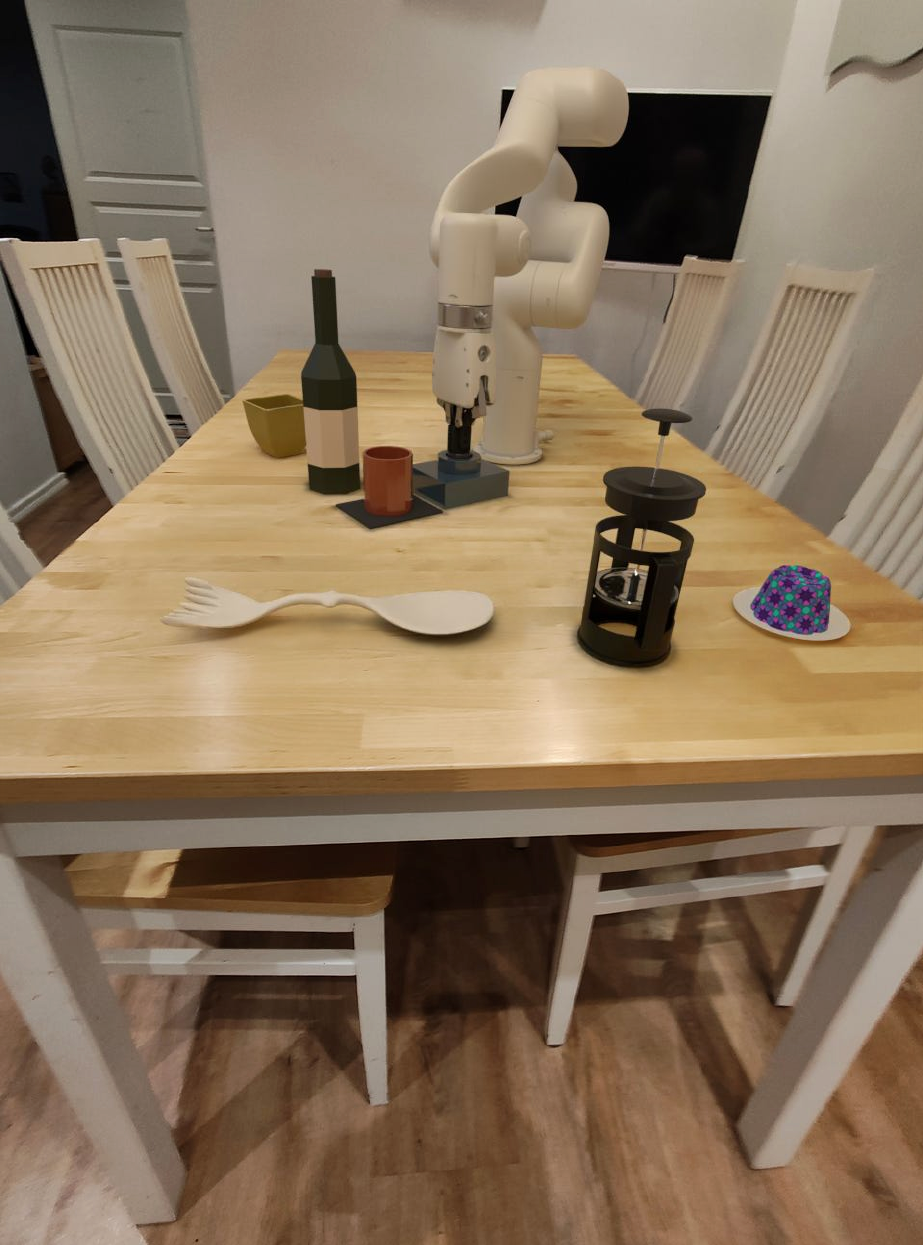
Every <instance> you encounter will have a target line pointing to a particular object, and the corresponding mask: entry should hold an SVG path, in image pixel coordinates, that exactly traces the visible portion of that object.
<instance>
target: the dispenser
mask: <svg viewBox="0 0 923 1245" xmlns="http://www.w3.org/2000/svg"><path fill="white" fill-rule="evenodd" d="M447 452H448V450H447V449H444V450H440V451H439V452H438V453H437V454H436V455H437V457H436V458H437V459H435V460H428V461H423V462H418V463H413V494H414V495H417V497H419V498H421V499H423V500H425V501H427V502H429V503H430V504H432V505H434V506H436V507H438V508H440V509H441V510H442V509H443V510H445V511H446V510H450V509H455V508H459V507H464V506H467V505H468V506H469V505H473V504H477V503H482V502H486V501H490V500H496V499H500V498H504V497H508V496H509V485H510V474H511V473H510V472H511V470H508V469H506V468H504V467H502V466H499V465H497V464H495V463H492V462H488V461H485V460H483V459H481V455H480V454H479V453H477V452H475V451H473V450H471V458H468V459H453V458H449V457H447Z"/></svg>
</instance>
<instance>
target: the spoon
mask: <svg viewBox="0 0 923 1245" xmlns="http://www.w3.org/2000/svg"><path fill="white" fill-rule="evenodd" d="M184 582H185V583H186V584H187V585H188V586H186V587H184V588H183V589H184V590H185V591H186V592H187V593H183V594H182V595H181V596H182V597H183V598H184V599H186V600H188V601H190V602H186V601H184V602H179V606H180V607H181V608H183V609H181V608H174V609H173V610H172V612H170V613H167V615H164V616H160V617H159V621H160V623H162V624H163V625H165V626H168V627H173V628H211V629H213V628H214V629H230V628H238V627H242V626H246V625H249V624H251V623H254V622H257V621H259V620H260V619H263V618H265V617H266V616H267V617H268V616H269V615H271V614H273V613H275V612H277V611H280V610H282V609H285V608H288V607H292V606H300V605H313V606H314V605H317V606H322V607H325V608H326V609H327V608H328V609H332V608H335V607H337V606H340V605H341V606H342V605H349V606H355V607H359V608H362V609H366V610H368V611H370V612H372V613H373V614H376V615H377V616H378V617H381V618H382V619H383V620H386V621H387V622H389V623H390V624H392V625H394V626H396V627H397V628H401V629H404V630H405V631H408V632H411V633H415V634H422V635H431V636H448V635H449V636H450V635H456V634H461V633H466V632H469V631H473V630H475V629H478V628H481V627H483V626H484V625H486V624H488V623H489V622H490V621H491V620H492V619H493V617H494V615H495V613H496V606H495V602H494V600H493V599H492V598H491V597H490V596H488V595H487V594H485V593H483V592H478V591H473V590H472V591H471V590H459V589H449V590H447V589H446V590H433V591H431V590H430V591H419V592H418V591H415V592H408V593H401V594H395V595H393V594H392V595H387V596H386V595H385V596H378V597H377V596H376V597H374V596H365V595H364V596H363V595H358V594H351V593H350V594H349V593H341V592H338V591H337V590H335V589H333V590H332V589H331V590H327V591H323V592H303V593H301V592H300V593H292V594H288V595H285V596H281V597H279V598H276V599H273V600H270V601H265V602H261V601H258V600H255V599H253V598H251V597H249V596H247V595H245V594H243V593H240V592H237V591H233V590H229V589H226V588H223V587H221V586H218V585H216V584H213V583H211V582H209V581H206V580H203V579H201V578H198V577H193V576H189V577H186V578H185V579H184Z"/></svg>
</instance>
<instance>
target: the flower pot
mask: <svg viewBox="0 0 923 1245" xmlns="http://www.w3.org/2000/svg"><path fill="white" fill-rule="evenodd" d="M241 401H242V405H243V408H244V413H245V416H246V420H247V424H248V428H249V430H250V432H251V435H252V437H253V439H254V441H255V442H256V444H257V445H258V447H259V448H260V449H261V451H262V452H264V453H266V454H267V455H269V456H272V458H276V459H280V458H285V457H289V456H294V455H299V454H302V453H303V452H304V450H305V448H306V436H305V422H304V409H303V398H301V397H297V396H296V395H292V394H290V393H281V394H275V395H269V396H268V395H267V396H263V397H262V396H261V397H252V398H245V399H242V400H241Z"/></svg>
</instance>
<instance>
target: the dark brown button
mask: <svg viewBox="0 0 923 1245" xmlns="http://www.w3.org/2000/svg"><path fill="white" fill-rule="evenodd" d="M471 451H472V449H470V451H469V452H464V453H458V454H454V453H452V452H449V451H448V452H447V457H449V458H453V459H468V458H471Z"/></svg>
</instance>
